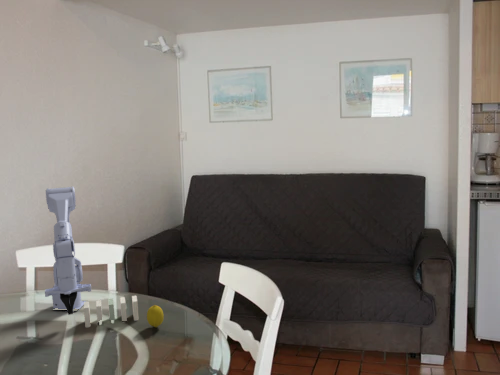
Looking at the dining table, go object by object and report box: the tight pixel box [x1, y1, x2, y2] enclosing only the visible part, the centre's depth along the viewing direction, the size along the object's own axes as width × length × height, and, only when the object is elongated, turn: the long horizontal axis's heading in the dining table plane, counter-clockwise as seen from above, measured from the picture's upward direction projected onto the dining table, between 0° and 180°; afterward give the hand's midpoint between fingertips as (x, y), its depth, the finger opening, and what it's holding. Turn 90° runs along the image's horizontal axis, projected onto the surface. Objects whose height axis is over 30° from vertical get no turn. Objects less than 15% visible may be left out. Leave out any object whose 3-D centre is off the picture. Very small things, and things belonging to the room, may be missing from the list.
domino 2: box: [95, 299, 103, 322], centre depth 181 cm, size 2×5×7 cm, turn 15°
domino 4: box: [119, 296, 128, 322], centre depth 184 cm, size 2×5×7 cm, turn 16°
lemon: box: [146, 304, 165, 328], centre depth 177 cm, size 6×6×8 cm
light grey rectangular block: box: [83, 301, 92, 328], centre depth 180 cm, size 2×5×7 cm, turn 16°
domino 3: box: [107, 298, 116, 321], centre depth 182 cm, size 2×5×7 cm, turn 15°
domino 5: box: [131, 295, 140, 322], centre depth 185 cm, size 2×5×7 cm, turn 15°
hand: (70, 313), depth 179 cm, fingers closed
